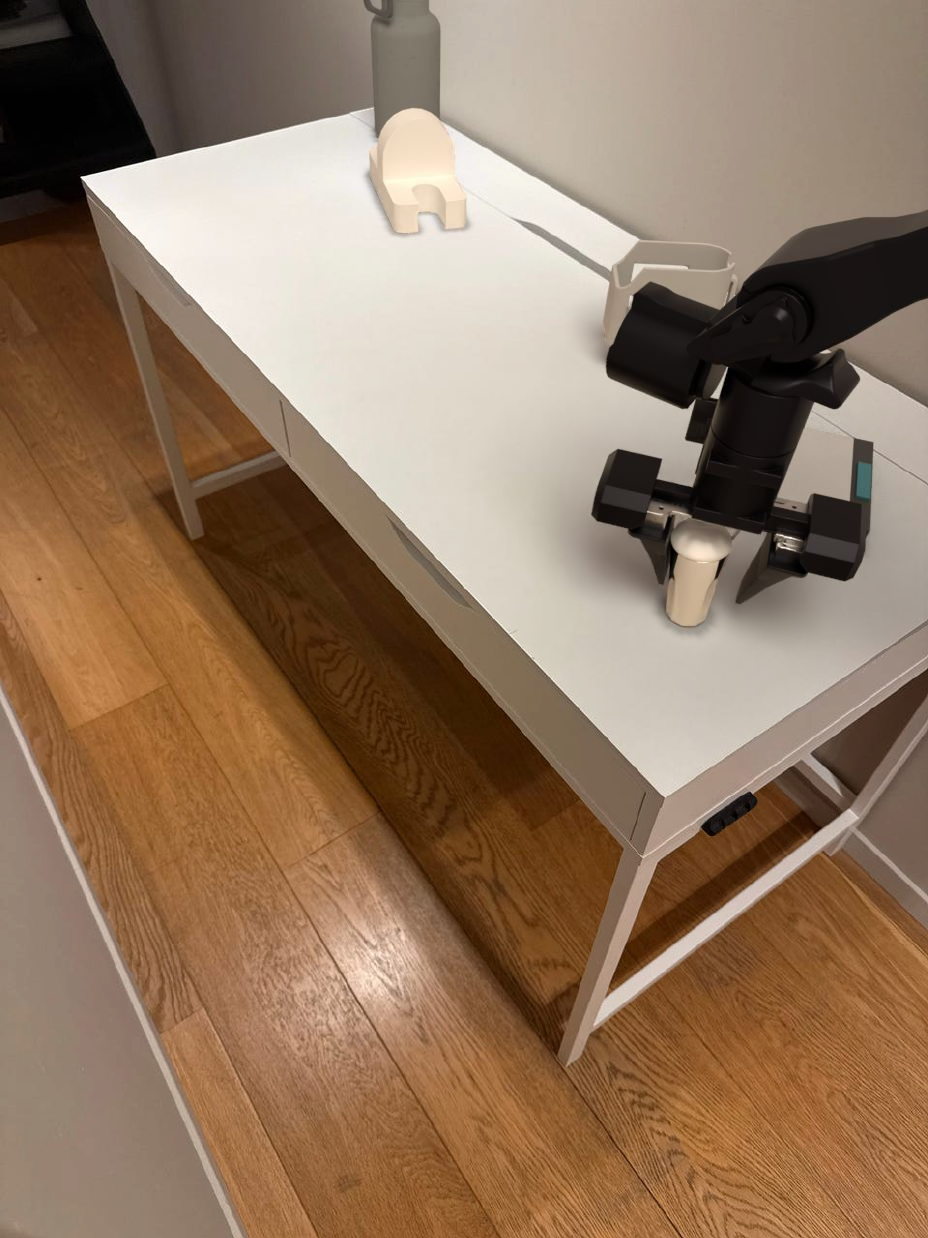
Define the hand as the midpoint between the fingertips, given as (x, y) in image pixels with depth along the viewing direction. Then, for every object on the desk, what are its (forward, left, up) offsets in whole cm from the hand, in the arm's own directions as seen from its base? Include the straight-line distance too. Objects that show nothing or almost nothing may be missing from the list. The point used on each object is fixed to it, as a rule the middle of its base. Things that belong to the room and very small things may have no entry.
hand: (700, 590), depth 70 cm
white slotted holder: (+47, -62, -3) cm, 78 cm away
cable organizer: (+10, -35, -3) cm, 36 cm away
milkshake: (0, 0, -3) cm, 3 cm away
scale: (-8, -19, -3) cm, 21 cm away
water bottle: (+56, -82, -3) cm, 99 cm away
